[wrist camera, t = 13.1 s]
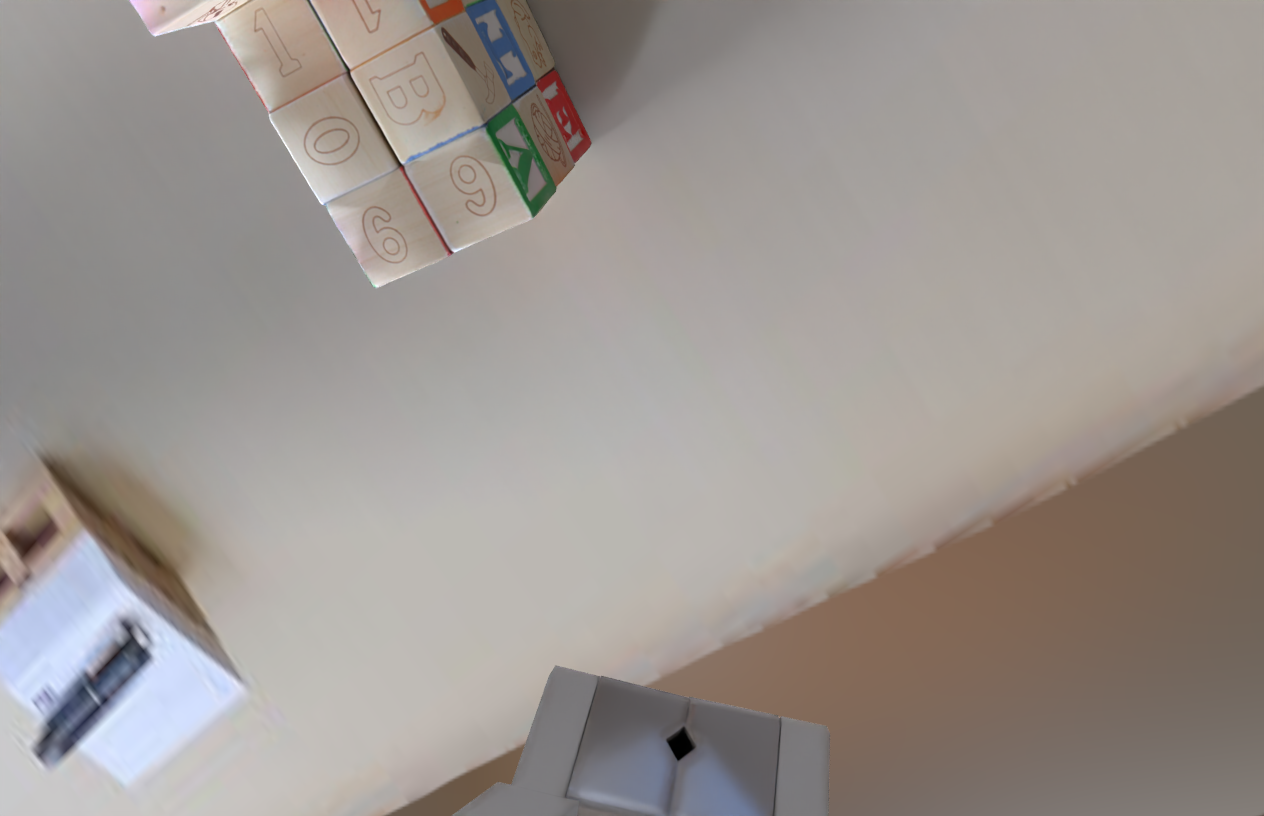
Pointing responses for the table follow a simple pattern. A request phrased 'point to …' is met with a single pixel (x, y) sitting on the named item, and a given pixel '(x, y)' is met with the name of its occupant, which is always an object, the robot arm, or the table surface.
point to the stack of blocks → (404, 113)
